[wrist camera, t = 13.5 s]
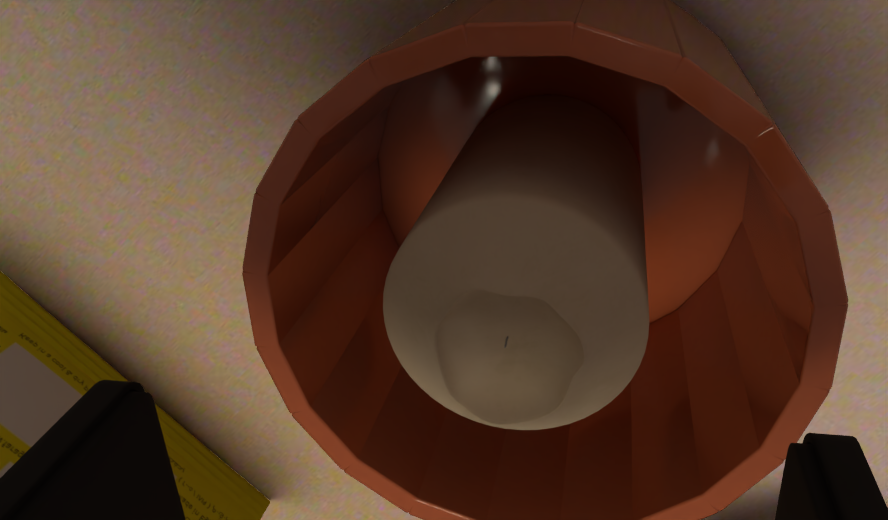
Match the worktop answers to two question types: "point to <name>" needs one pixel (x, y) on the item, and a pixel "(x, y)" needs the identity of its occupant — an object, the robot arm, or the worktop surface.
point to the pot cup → (667, 260)
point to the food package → (67, 379)
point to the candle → (526, 270)
